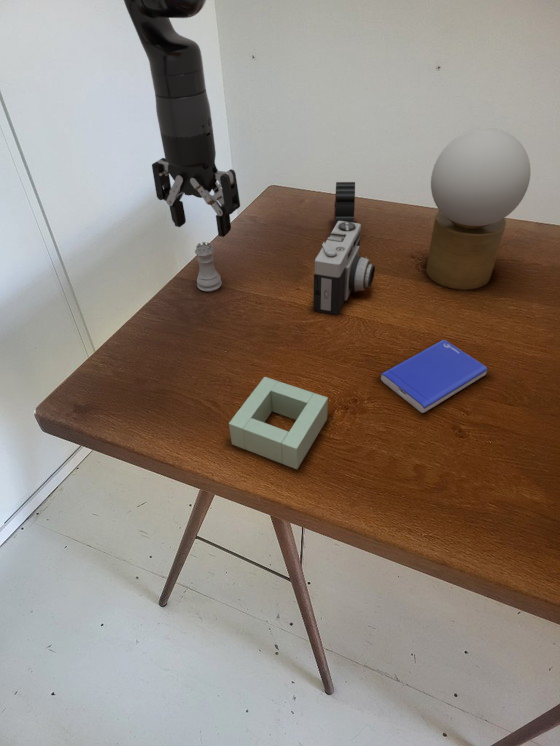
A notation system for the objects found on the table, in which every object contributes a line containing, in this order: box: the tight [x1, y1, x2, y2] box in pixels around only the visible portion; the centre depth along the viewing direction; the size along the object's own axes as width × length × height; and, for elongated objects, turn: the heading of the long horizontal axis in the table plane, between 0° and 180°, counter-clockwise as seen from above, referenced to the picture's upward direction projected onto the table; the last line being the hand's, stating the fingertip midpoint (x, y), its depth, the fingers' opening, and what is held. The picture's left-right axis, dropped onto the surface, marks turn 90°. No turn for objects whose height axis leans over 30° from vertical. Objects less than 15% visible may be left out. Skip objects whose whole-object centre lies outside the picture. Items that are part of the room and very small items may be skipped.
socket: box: [228, 376, 329, 470], centre depth 66 cm, size 9×9×4 cm
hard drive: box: [380, 339, 488, 414], centre depth 73 cm, size 2×8×12 cm
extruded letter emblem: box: [333, 181, 356, 228], centre depth 100 cm, size 18×4×11 cm, turn 176°
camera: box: [312, 221, 376, 315], centre depth 86 cm, size 14×8×10 cm, turn 160°
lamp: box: [425, 127, 531, 291], centre depth 83 cm, size 15×14×25 cm
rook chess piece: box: [194, 241, 223, 293], centre depth 90 cm, size 4×4×8 cm
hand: (202, 229), depth 85 cm, fingers open, 8 cm apart
